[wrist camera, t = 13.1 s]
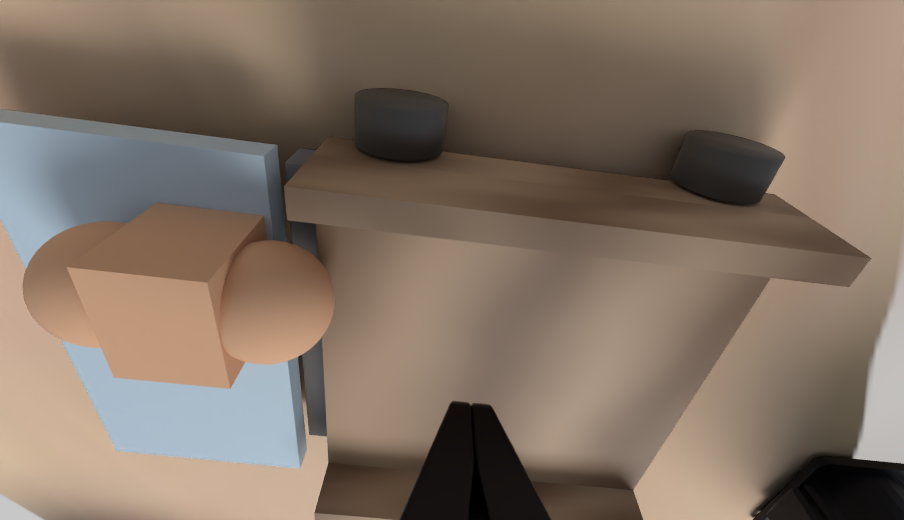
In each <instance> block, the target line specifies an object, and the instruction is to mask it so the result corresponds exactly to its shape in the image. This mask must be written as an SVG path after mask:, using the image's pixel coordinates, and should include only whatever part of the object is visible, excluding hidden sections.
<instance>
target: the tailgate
mask: <svg viewBox="0 0 904 520" xmlns="http://www.w3.org/2000/svg"><path fill="white" fill-rule="evenodd" d="M155 203H164V204H173V205H181V206H189V207H197V208H206V209H214V210H222V211H230V212H238V213H247V214H255V215H263V216H264V220H265V229H266V237H267V240H276V241H283V242H287V241H286V230H285V220H284V210H283V200H282V189H281V179H280V169H279V159H278V148H277V145H274V144H266V143H258V142H251V141H243V140H235V139H228V138H220V137H212V136H205V135H197V134H189V133H181V132H174V131H166V130H158V129H151V128H143V127H135V126H128V125H120V124H112V123H104V122H97V121H89V120H81V119H74V118H66V117H58V116H51V115H43V114H35V113H28V112H20V111H12V110H4V109H0V219H1V221H2V223H3V225H4V227H5V229H6V231H7V233H8V235H9V237H10V239H11V241H12V243H13V245H14V247H15V249H16V251H17V253H18V255H19V257H20V259H21V261H22V263H23V265H24V267H25V269H26V268H27V266H28V263H29V261H30V260H31V258H32V257H33V255H34V254H35V253H36V251H37V250H38V249H39V248H40V247H41V246H42V245H43V244H44V243H45V242H47V241H48V240H49V239H51V238H52V237H53V236H55V235H57V234H59V233H60V232H62V231H64V230H66V229H69V228H72V227H75V226H78V225H81V224H86V223H91V222H100V221H115V222H123V223H129V222H130V221H132V220H133V219H134V218H136V217H137V216H139V215H140V214H141V213H143V212H144V211H146V210H147V209H148V208H150V207H151V206H153V205H154V204H155ZM61 341H62V343H63V345H64V347H65V349H66V351H67V353H68V355H69V357H70V359H71V361H72V363H73V365H74V367H75V369H76V371H77V373H78V375H79V377H80V379H81V381H82V383H83V385H84V387H85V389H86V391H87V393H88V395H89V397H90V399H91V401H92V403H93V405H94V407H95V409H96V411H97V413H98V415H99V417H100V419H101V421H102V423H103V425H104V427H105V429H106V431H107V433H108V435H109V437H110V439H111V441H112V443H113V445H114V447H115V449H116V451H122V452H133V453H143V454H154V455H164V456H175V457H185V458H195V459H206V460H216V461H227V462H237V463H248V464H258V465H269V466H279V467H289V468H300V467H301V464H302V462H303V459H304V456H305V453H306V450H307V446H306V436H305V425H304V415H303V405H302V394H301V384H300V374H299V364H298V357H296V358H294V359H291V360H289V361H286V362H282V363H277V364H269V365H262V364H253V363H248V362H245V364H244V366H243V367H242V369H241V371H240V373H239V374H238V376H237V378H236V380H235V382H234V383H233V385H232V387H231V389H226V388H216V387H205V386H195V385H185V384H174V383H164V382H154V381H143V380H133V379H122V378H114V377H113V374H112V372H111V370H110V367H109V365H108V363H107V360H106V358H105V356H104V353H103V351H102V349H101V348H91V347H83V346H78V345H75V344H71V343H69V342H66V341H63V340H61Z"/></svg>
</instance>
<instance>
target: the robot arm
mask: <svg viewBox="0 0 904 520" xmlns="http://www.w3.org/2000/svg"><path fill="white" fill-rule="evenodd" d="M399 520H551V518H550V516H549V514H548V512H547V510H546V508H545V506H544V504H543V502H542V501H541V499H540V497H539V495H538V493H537V491H536V489H535V487H534V485H533V483H532V481H531V480H530V478H529V476H528V474H527V472H526V470H525V468H524V466H523V464H522V462H521V460H520V459H519V457H518V455H517V453H516V451H515V449H514V447H513V445H512V443H511V441H510V439H509V438H508V436H507V434H506V432H505V430H504V428H503V426H502V424H501V422H500V420H499V418H498V417H497V415H496V413H495V411H494V409H493V407H492V406H491V405H489V404H482V403H472V404H471V405H470V403H468V402H461V401H452V402H451V403H450V404H449V406H448V409H447V411H446V413H445V416H444V418H443V420H442V422H441V425H440V427H439V429H438V432H437V434H436V436H435V438H434V441H433V443H432V445H431V448H430V450H429V452H428V454H427V457H426V459H425V461H424V464H423V466H422V468H421V471H420V473H419V475H418V477H417V480H416V482H415V484H414V487H413V489H412V491H411V493H410V496H409V498H408V500H407V503H406V505H405V507H404V509H403V512H402V514H401V516H400V519H399ZM753 520H904V464H901V463H891V462H890V463H889V462H879V461H870V460H858V459H849V458H839V457H828V456H822V457H817V458H815V459H813V460H812V461H810V462H809V463H808V464H807V465H806V466H805V467H804V468H803V469H802V470H801V471H800V473H799V474H798V475H797V476H796V477H795V478H794V479H793V480H792V481H791V482H790V483H789V484H788V485H787V486H786V487H785V488H784V489H783V490H782V491H781V492H780V493H779V494H778V495H777V496H776V497H775V498H774V499H773V500H772V501H771V502H770V503H769V504H768V505H767V506H766V507H765V508H764V509H763V510H762V511H761V512H760V513H759V514H758V515H757V516H756V517H755V518H754V519H753Z"/></svg>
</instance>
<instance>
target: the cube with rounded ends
mask: <svg viewBox="0 0 904 520" xmlns="http://www.w3.org/2000/svg"><path fill="white" fill-rule="evenodd" d="M23 295H24V300H25V303H26V305H27V308H28V310H29V312H30V314H31V315H32V317H33V318H34V319H35V321H36V322H37V323H38V324H39V325H40V326H41V327H42V328H44V329H45V330H46V331H47V332H49V333H50V334H52V335H53V336H55V337H57V338H59V339H61V340H63V341H66V342H69V343H71V344H75V345H78V346H83V347H91V348H101V349H102V351H103V353H104V356H105V358H106V360H107V363H108V365H109V367H110V370H111V372H112V374H113V377H114V378H122V379H133V380H143V381H154V382H164V383H174V384H185V385H195V386H205V387H216V388H226V389H231V387H232V385H233V383H234V382H235V380H236V378H237V376H238V374H239V373H240V371H241V369H242V367H243V366H244V364H245V362H248V363H253V364H262V365H269V364H277V363H282V362H286V361H289V360H291V359H294V358H296V357H298V356H300V355H302V354H304V353H305V352H307V351H308V350H309V349H311V348H312V347H313V346H314V345H315V344H316V343H317V342H318V341H319V340H320V339H321V337H322V336H323V335H324V333H325V332H326V330H327V328H328V326H329V324H330V322H331V319H332V316H333V312H334V303H335V295H334V288H333V284H332V281H331V279H330V276H329V274H328V272H327V271H326V269H325V267H324V266H323V265H322V264H321V262H320V261H319V260H318V259H317V258H316V257H315V256H313V255H312V254H311V253H310V252H308V251H307V250H305V249H303V248H301V247H299V246H297V245H294V244H291V243H288V242H283V241H276V240H267V237H266V229H265V220H264V216H263V215H255V214H247V213H238V212H230V211H222V210H214V209H206V208H197V207H189V206H181V205H173V204H164V203H155V204H154V205H153V206H151V207H150V208H148V209H147V210H146V211H144V212H143V213H141V214H140V215H139V216H137V217H136V218H134V219H133V220H132V221H130V222H129V223H123V222H115V221H100V222H91V223H86V224H81V225H78V226H75V227H72V228H69V229H66V230H64V231H62V232H60V233H59V234H57V235H55V236H53V237H52V238H51V239H49V240H48V241H47V242H45V243H44V244H43V245H42V246H41V247H40V248H39V249H38V250H37V251H36V253H35V254H34V255H33V257H32V258H31V260H30V261H29V263H28V266H27V268H26V271H25V274H24V280H23Z"/></svg>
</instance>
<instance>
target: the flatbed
mask: <svg viewBox="0 0 904 520" xmlns="http://www.w3.org/2000/svg"><path fill="white" fill-rule="evenodd" d="M447 110H448V104H447V102H445V101H444V100H442V99H440V98H438V97H435V96H432V95H429V94H425V93H421V92H416V91H410V90H402V89H390V88H375V89H366V90H361V91H359V92H357V93H356V94H355V140H350V139H342V138H334V137H327V139H326V140H325V141H324V142H323V143H322V144H321V145H320V146H319V148H318V149H317V150H311V149H303V148H299V149H298V150H297V151H296V152H295V153H294V154H293V155H292V156H291V157H290V158H289V159H288V160H287V161H286V162H285V169H286V180H287V183H286V185H285V186H284V193H285V203H286V214H287V220H289V221H290V225H291V236H292V244H294V245H297V246H299V247H301V248H303V249H305V250H307V251H308V252H310V253H311V254H312V255H313V256H315V257H316V258H317V259H318V260H319V261H320V262H321V264H322V265H323V266H324V267H325V269H326V271H327V272H328V274H329V276H330V279H331V281H332V284H333V288H334V295H335V303H334V312H333V316H332V319H331V322H330V324H329V326H328V328H327V330H326V332H325V333H324V335H323V336H322V337H321V339H320V340H319V341H318V342H317V343H316V344H315V345H314V346H313V347H312V348H311V349H309V350H308V351H307V352H305V353H304V354H302V359H303V370H304V381H305V393H306V404H307V415H308V426H309V435H319V436H327V443H328V461H329V463H328V467H327V470H326V474H325V477H324V481H323V485H322V488H321V492H320V495H319V499H318V502H317V506H316V510H315V520H399V519H400V516H401V514H402V512H403V509H404V507H405V505H406V503H407V500H408V498H409V496H410V493H411V491H412V489H413V487H414V484H415V482H416V480H417V477H418V475H419V473H420V471H421V468H422V466H423V464H424V461H425V459H426V457H427V454H428V452H429V450H430V448H431V445H432V443H433V441H434V438H435V436H436V434H437V432H438V429H439V427H440V425H441V422H442V420H443V418H444V416H445V413H446V411H447V409H448V406H449V404H450V403H451V402H452V401H461V402H468V403H470V405H471V404H472V403H482V404H489V405H491V406H492V407H493V409H494V411H495V413H496V415H497V417H498V418H499V420H500V422H501V424H502V426H503V428H504V430H505V432H506V434H507V436H508V438H509V439H510V441H511V443H512V445H513V447H514V449H515V451H516V453H517V455H518V457H519V459H520V460H521V462H522V464H523V466H524V468H525V470H526V472H527V474H528V476H529V478H530V480H531V481H532V483H533V485H534V487H535V489H536V491H537V493H538V495H539V497H540V499H541V501H542V502H543V504H544V506H545V508H546V510H547V512H548V514H549V516H550V518H551V520H643V518H642V515H641V512H640V509H639V506H638V503H637V500H636V497H635V495H634V492H633V490H634V488H635V486H636V485H637V483H638V482H639V480H640V479H641V477H642V476H643V474H644V473H645V471H646V470H647V468H648V466H649V465H650V463H651V462H652V460H653V459H654V457H655V456H656V454H657V453H658V451H659V449H660V448H661V446H662V445H663V443H664V442H665V440H666V439H667V437H668V436H669V434H670V433H671V431H672V429H673V428H674V426H675V425H676V423H677V422H678V420H679V419H680V417H681V416H682V414H683V412H684V411H685V409H686V408H687V406H688V405H689V403H690V402H691V400H692V399H693V397H694V396H695V394H696V392H697V391H698V389H699V388H700V386H701V385H702V383H703V382H704V380H705V379H706V377H707V375H708V374H709V372H710V371H711V369H712V368H713V366H714V365H715V363H716V362H717V360H718V358H719V357H720V355H721V354H722V352H723V351H724V349H725V348H726V346H727V345H728V343H729V342H730V340H731V338H732V337H733V335H734V334H735V332H736V331H737V329H738V328H739V326H740V325H741V323H742V321H743V320H744V318H745V317H746V315H747V314H748V312H749V311H750V309H751V308H752V306H753V305H754V303H755V301H756V300H757V298H758V297H759V295H760V294H761V292H762V291H763V289H764V288H765V286H766V284H767V283H768V281H769V280H770V278H778V279H786V280H795V281H803V282H812V283H820V284H828V285H837V286H845V287H849V286H850V285H851V284H852V282H853V281H854V280H855V279H856V277H857V276H858V275H859V273H860V272H861V271H862V270H863V268H864V267H865V266H866V264H867V263H868V262H869V261H870V259H871V258H870V257H868V256H867V255H865V254H864V253H862V252H861V251H859V250H858V249H856V248H855V247H853V246H852V245H850V244H849V243H847V242H846V241H844V240H843V239H841V238H840V237H838V236H837V235H835V234H834V233H832V232H831V231H829V230H828V229H826V228H825V227H823V226H822V225H820V224H819V223H817V222H816V221H814V220H813V219H811V218H809V217H808V216H806V215H805V214H803V213H802V212H800V211H799V210H797V209H796V208H794V207H793V206H791V205H790V204H788V203H787V202H785V201H784V200H782V199H781V198H779V197H778V196H776V195H775V194H767V193H765V192H766V191H767V189H768V187H769V185H770V184H771V182H772V180H773V178H774V176H775V175H776V173H777V171H778V169H779V168H780V166H781V164H782V162H783V161H784V159H785V156H784V155H783V154H782V153H781V152H779V151H777V150H776V149H773V148H771V147H769V146H766V145H764V144H761V143H758V142H755V141H752V140H748V139H745V138H741V137H737V136H733V135H729V134H724V133H718V132H711V131H700V130H695V131H689V132H688V133H687V135H686V137H685V140H684V142H683V144H682V147H681V149H680V151H679V154H678V156H677V158H676V161H675V163H674V166H673V168H672V170H671V173H670V176H671V178H672V179H673V180H674V181H667V180H659V179H651V178H644V177H636V176H628V175H620V174H613V173H605V172H597V171H589V170H582V169H574V168H566V167H559V166H551V165H543V164H535V163H528V162H520V161H512V160H504V159H497V158H489V157H481V156H473V155H466V154H458V153H450V152H442V151H443V145H444V136H445V128H446V119H447Z"/></svg>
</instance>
